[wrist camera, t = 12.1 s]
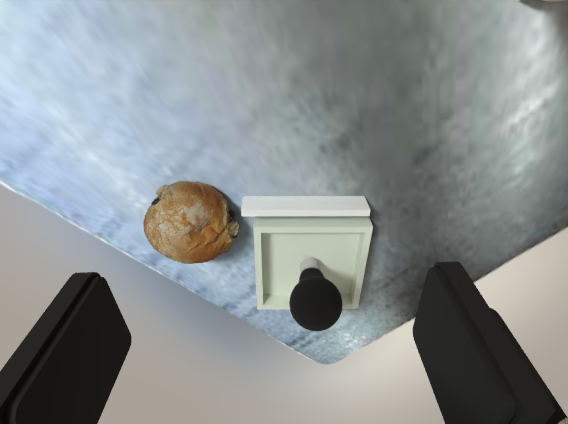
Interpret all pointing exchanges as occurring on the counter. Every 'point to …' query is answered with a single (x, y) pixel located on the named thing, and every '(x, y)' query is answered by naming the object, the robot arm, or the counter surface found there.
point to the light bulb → (315, 298)
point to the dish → (309, 255)
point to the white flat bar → (305, 206)
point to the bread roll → (190, 222)
